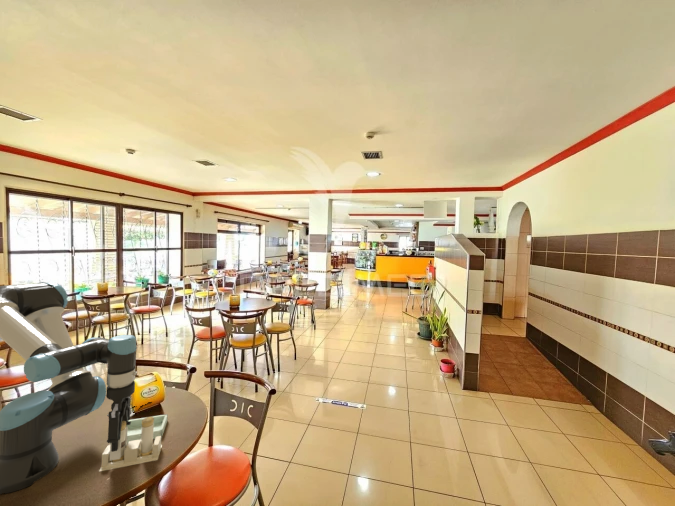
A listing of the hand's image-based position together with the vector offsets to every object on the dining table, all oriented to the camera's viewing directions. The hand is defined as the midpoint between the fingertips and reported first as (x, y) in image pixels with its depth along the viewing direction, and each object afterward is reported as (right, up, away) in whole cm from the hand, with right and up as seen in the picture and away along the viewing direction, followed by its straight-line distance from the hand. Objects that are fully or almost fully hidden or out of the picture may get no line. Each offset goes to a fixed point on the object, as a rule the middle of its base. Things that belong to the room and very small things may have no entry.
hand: (118, 452), depth 95 cm
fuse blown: (0, -3, 0) cm, 3 cm away
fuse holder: (+4, -3, +1) cm, 5 cm away
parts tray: (-2, -3, +14) cm, 15 cm away
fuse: (+7, -3, +3) cm, 8 cm away
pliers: (-17, -3, +31) cm, 36 cm away
